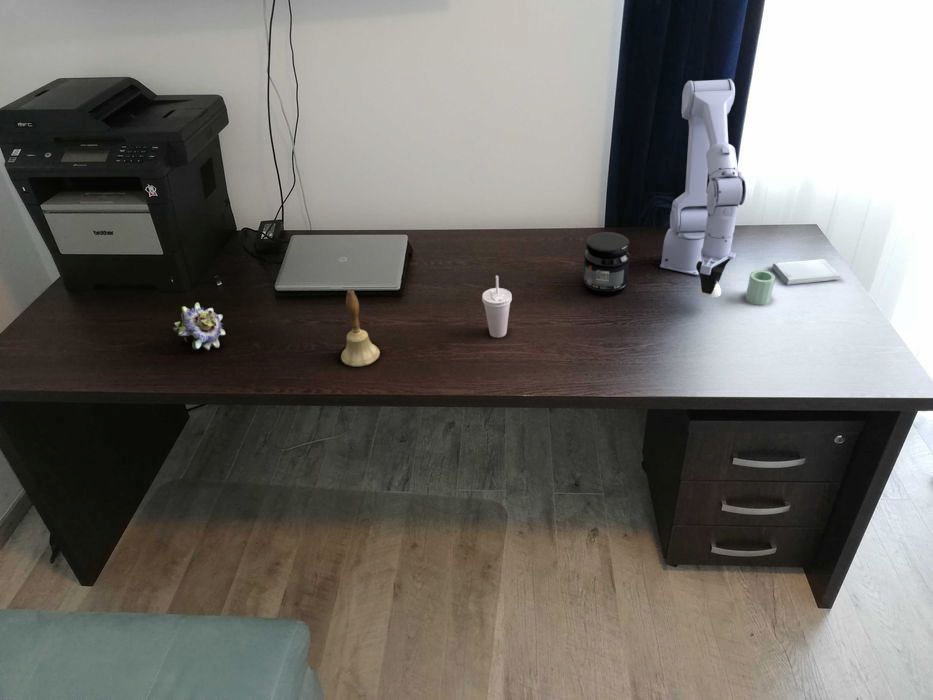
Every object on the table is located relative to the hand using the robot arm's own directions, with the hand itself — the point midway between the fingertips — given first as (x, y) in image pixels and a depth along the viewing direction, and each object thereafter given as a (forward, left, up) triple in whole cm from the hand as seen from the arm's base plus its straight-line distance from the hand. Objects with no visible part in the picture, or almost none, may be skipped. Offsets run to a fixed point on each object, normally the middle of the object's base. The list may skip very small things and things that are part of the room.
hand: (709, 288), depth 158 cm
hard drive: (+16, +25, -5) cm, 30 cm away
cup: (+9, +9, -5) cm, 14 cm away
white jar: (0, 0, -2) cm, 2 cm away
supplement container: (-24, -1, -5) cm, 25 cm away
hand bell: (-59, -51, -5) cm, 78 cm away
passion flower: (-94, -64, -5) cm, 114 cm away
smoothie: (-37, -30, -5) cm, 48 cm away
